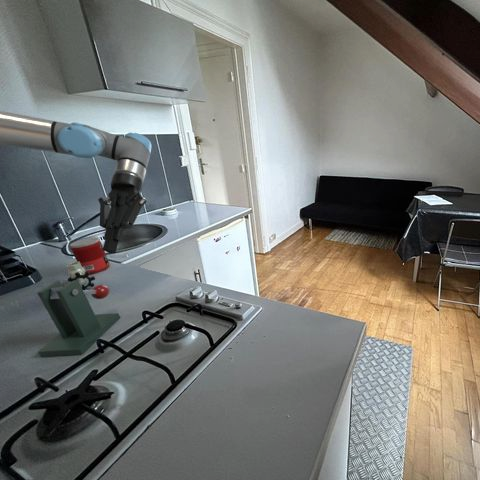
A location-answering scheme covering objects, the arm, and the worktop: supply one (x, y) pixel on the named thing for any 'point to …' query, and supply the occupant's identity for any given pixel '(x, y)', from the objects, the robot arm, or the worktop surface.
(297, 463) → the worktop surface
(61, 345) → the bracket
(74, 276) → the valve
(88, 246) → the canned food
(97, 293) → the lever
